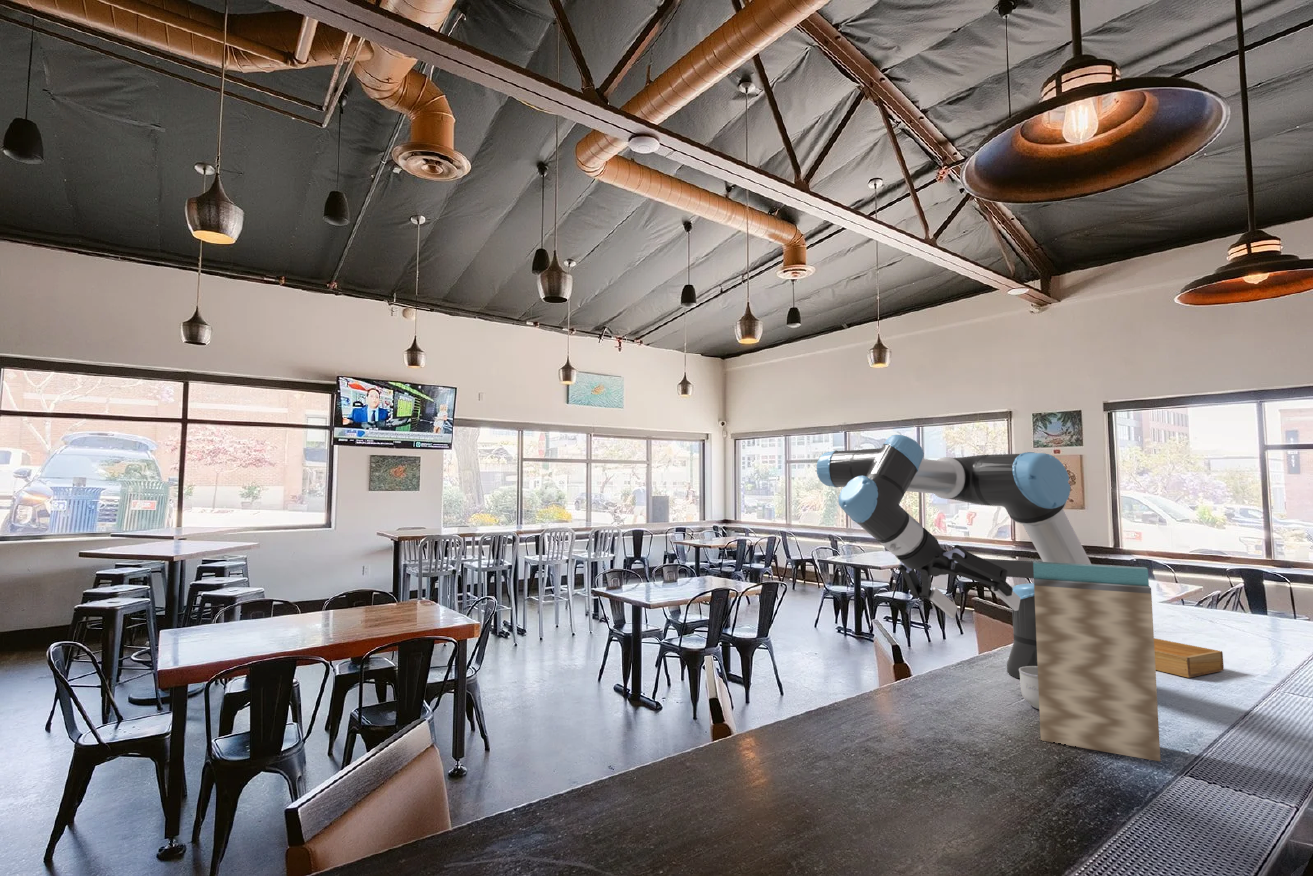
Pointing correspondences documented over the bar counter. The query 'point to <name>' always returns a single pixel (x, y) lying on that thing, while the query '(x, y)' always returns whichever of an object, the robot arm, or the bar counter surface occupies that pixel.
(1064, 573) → the teal and grey bar
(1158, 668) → the tray
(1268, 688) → the bar counter surface
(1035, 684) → the teacup
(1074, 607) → the pedestal
